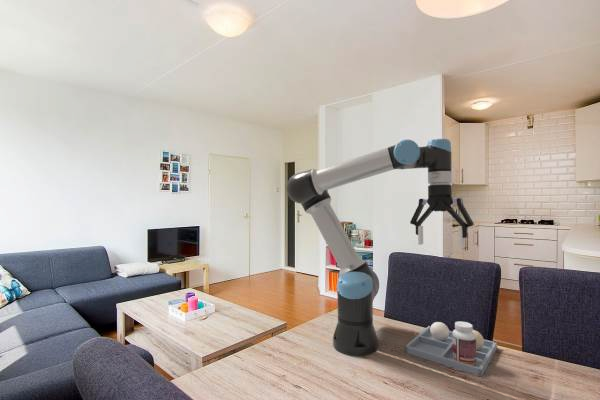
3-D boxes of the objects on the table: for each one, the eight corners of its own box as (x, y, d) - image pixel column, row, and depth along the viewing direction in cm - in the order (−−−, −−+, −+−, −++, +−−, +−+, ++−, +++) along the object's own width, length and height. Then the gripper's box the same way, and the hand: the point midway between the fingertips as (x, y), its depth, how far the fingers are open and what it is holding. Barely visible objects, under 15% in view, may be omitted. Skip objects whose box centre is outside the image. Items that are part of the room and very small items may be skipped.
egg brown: (460, 349, 100) (460, 330, 100) (465, 343, 105) (465, 325, 105) (481, 355, 96) (481, 336, 96) (486, 348, 101) (485, 329, 101)
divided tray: (404, 354, 99) (404, 346, 99) (428, 332, 115) (428, 325, 115) (481, 379, 85) (481, 369, 85) (496, 350, 101) (496, 342, 101)
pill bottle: (480, 363, 92) (480, 325, 92) (469, 369, 88) (468, 330, 89) (459, 354, 97) (459, 318, 97) (448, 360, 94) (447, 323, 94)
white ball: (427, 340, 107) (427, 322, 107) (433, 334, 112) (433, 317, 112) (446, 345, 103) (445, 327, 103) (451, 339, 108) (451, 322, 108)
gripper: (400, 185, 114) (401, 244, 114) (477, 182, 98) (478, 250, 98) (408, 186, 120) (409, 241, 120) (483, 183, 103) (484, 247, 103)
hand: (440, 246), depth 109 cm, fingers open, 13 cm apart
